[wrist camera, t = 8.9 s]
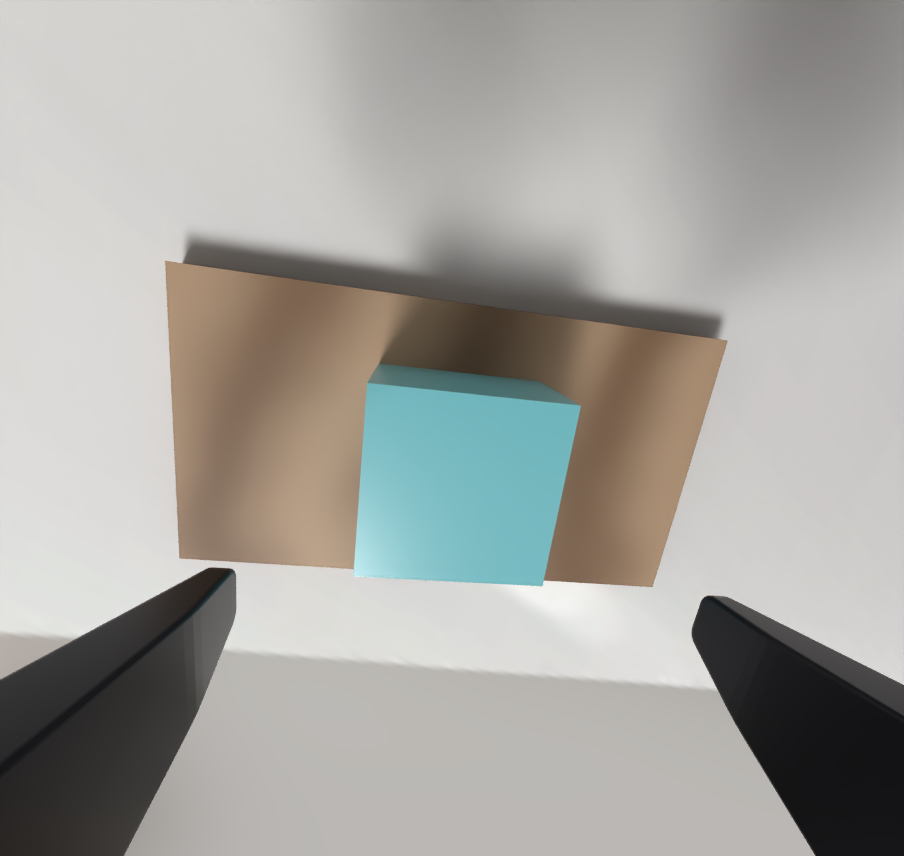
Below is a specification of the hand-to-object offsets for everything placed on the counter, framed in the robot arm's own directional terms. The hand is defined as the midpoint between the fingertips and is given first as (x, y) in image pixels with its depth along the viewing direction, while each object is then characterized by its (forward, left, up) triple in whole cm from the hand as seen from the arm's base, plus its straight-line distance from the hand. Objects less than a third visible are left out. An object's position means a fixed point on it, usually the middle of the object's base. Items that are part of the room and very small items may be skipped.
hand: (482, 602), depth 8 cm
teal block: (0, 0, -9) cm, 9 cm away
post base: (0, 0, -10) cm, 10 cm away
